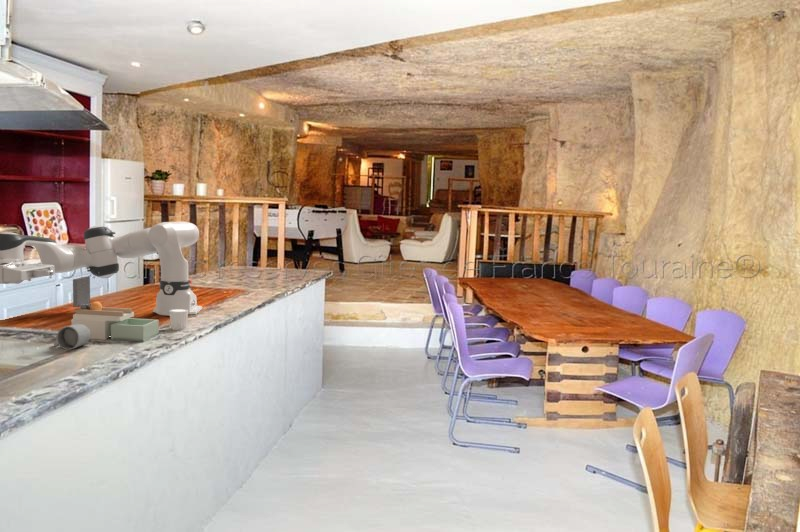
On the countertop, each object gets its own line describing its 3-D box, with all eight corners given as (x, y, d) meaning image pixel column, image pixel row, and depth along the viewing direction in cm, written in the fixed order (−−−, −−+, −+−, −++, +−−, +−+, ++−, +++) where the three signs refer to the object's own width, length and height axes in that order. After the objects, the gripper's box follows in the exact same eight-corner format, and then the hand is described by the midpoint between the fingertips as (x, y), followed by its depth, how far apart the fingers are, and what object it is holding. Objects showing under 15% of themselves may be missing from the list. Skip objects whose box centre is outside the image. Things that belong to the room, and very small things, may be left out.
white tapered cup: (182, 330, 242) (182, 312, 242) (165, 329, 244) (165, 311, 243) (191, 327, 249) (191, 309, 248) (175, 325, 250) (175, 308, 250)
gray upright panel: (86, 309, 234) (85, 276, 232) (95, 309, 233) (95, 277, 232) (73, 313, 226) (72, 279, 224) (82, 313, 226) (82, 279, 224)
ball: (93, 311, 231) (93, 300, 231) (104, 312, 231) (104, 301, 231) (87, 313, 228) (87, 302, 227) (98, 314, 227) (98, 302, 227)
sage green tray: (127, 332, 235) (127, 318, 235) (158, 334, 234) (158, 319, 234) (111, 339, 224) (111, 324, 223) (143, 341, 223) (143, 326, 222)
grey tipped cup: (92, 344, 216) (92, 322, 215) (79, 350, 208) (78, 327, 207) (62, 343, 217) (61, 321, 216) (47, 349, 209) (46, 325, 208)
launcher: (90, 330, 237) (90, 305, 236) (135, 333, 235) (135, 307, 234) (71, 337, 225) (71, 310, 224) (118, 340, 223) (118, 313, 222)
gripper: (33, 276, 241) (68, 278, 240) (-6, 283, 221) (33, 285, 219) (32, 259, 240) (68, 261, 239) (-6, 265, 220) (32, 267, 219)
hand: (51, 273), depth 229 cm, fingers closed
